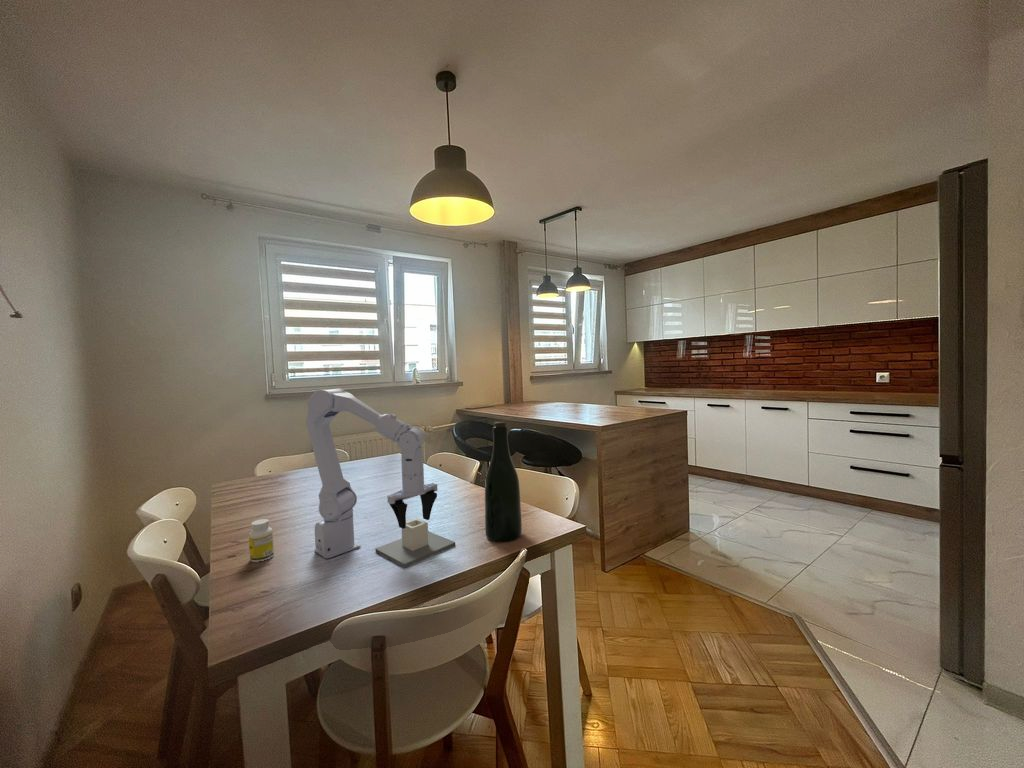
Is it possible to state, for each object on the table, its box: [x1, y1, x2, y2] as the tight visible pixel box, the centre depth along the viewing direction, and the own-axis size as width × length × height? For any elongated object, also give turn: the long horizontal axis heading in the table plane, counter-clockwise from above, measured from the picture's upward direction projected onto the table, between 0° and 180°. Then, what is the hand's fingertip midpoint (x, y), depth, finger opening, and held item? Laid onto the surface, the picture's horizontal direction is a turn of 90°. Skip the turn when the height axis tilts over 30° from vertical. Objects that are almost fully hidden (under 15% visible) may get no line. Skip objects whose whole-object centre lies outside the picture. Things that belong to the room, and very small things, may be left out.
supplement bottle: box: [248, 518, 275, 563], centre depth 106 cm, size 5×5×10 cm
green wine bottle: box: [484, 421, 523, 543], centre depth 115 cm, size 10×10×33 cm
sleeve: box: [401, 518, 429, 551], centre depth 109 cm, size 5×5×6 cm
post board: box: [374, 530, 456, 569], centre depth 109 cm, size 16×14×6 cm
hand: (414, 523), depth 109 cm, fingers open, 7 cm apart
